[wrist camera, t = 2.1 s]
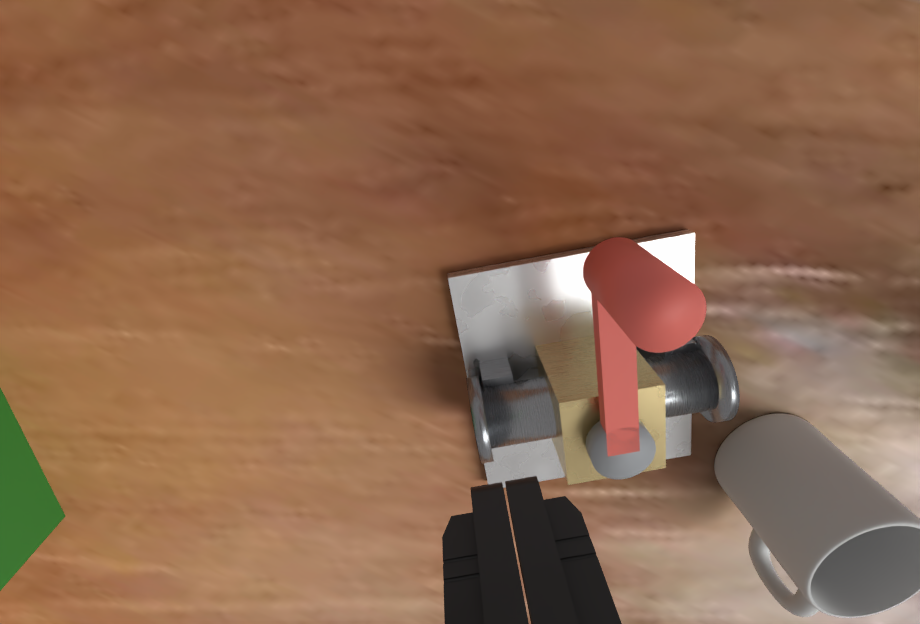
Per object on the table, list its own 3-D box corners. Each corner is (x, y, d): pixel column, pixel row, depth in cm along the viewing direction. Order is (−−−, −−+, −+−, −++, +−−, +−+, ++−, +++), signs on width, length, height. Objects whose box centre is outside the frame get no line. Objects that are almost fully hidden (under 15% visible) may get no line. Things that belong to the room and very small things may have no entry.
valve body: (687, 229, 32) (762, 267, 25) (684, 446, 40) (742, 525, 32) (447, 273, 33) (452, 323, 25) (487, 481, 40) (500, 567, 33)
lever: (647, 459, 29) (705, 555, 23) (587, 469, 29) (629, 568, 23) (641, 224, 24) (715, 269, 17) (567, 238, 24) (615, 287, 18)
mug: (736, 405, 38) (844, 515, 28) (835, 418, 39) (973, 528, 29) (683, 521, 43) (760, 650, 33) (772, 529, 44) (874, 658, 34)
